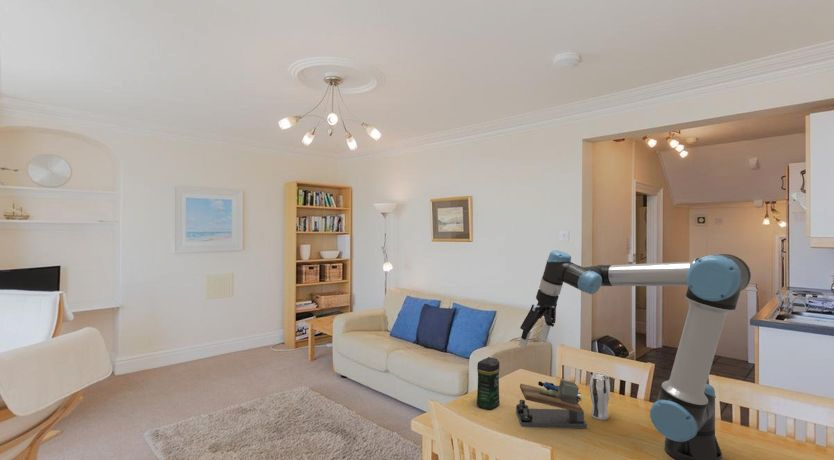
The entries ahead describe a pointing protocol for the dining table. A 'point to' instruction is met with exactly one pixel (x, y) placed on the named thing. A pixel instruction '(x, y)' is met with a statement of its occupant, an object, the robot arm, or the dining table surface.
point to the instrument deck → (547, 399)
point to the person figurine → (554, 388)
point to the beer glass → (599, 396)
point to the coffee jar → (488, 383)
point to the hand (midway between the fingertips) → (532, 343)
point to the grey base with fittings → (549, 417)
